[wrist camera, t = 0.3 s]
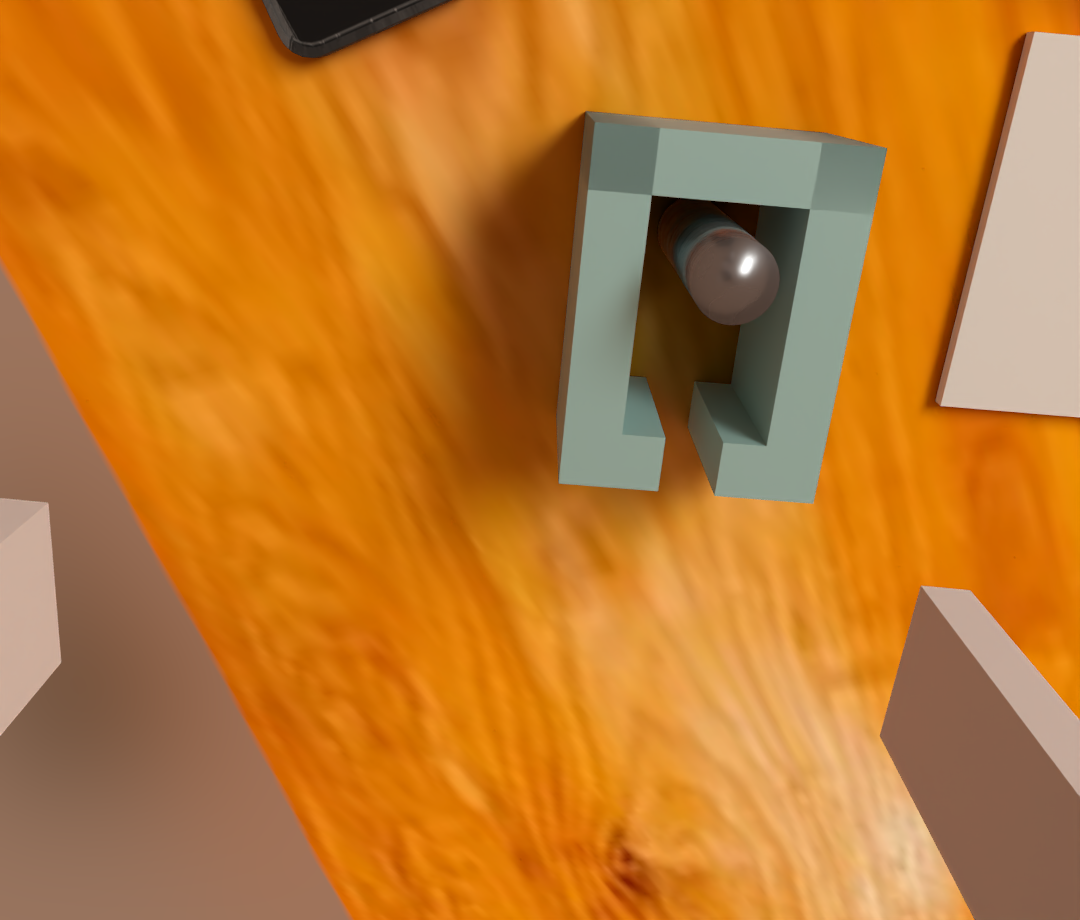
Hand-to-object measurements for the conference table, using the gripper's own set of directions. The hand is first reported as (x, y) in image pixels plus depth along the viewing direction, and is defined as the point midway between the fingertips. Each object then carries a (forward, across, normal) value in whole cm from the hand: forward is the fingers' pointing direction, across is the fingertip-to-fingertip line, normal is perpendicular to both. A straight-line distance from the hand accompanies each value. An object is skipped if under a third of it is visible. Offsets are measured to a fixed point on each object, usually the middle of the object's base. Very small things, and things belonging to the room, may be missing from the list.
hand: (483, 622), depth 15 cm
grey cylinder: (+26, +6, +3) cm, 26 cm away
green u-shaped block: (+26, +6, +1) cm, 26 cm away
